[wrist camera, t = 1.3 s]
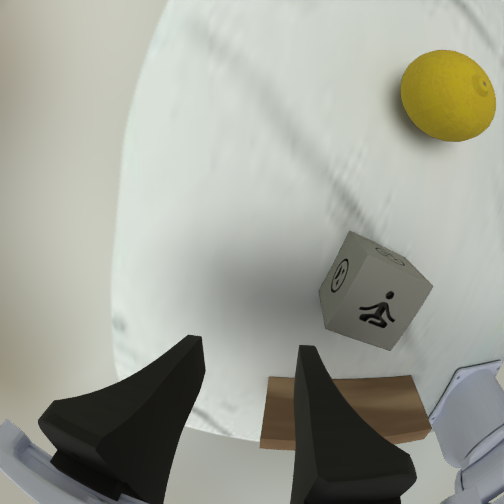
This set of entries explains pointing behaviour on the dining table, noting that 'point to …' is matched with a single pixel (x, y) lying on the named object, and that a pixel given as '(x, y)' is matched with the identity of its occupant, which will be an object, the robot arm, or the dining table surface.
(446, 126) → the lemon
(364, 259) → the dice cube
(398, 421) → the brown wooden block
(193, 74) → the dining table surface
